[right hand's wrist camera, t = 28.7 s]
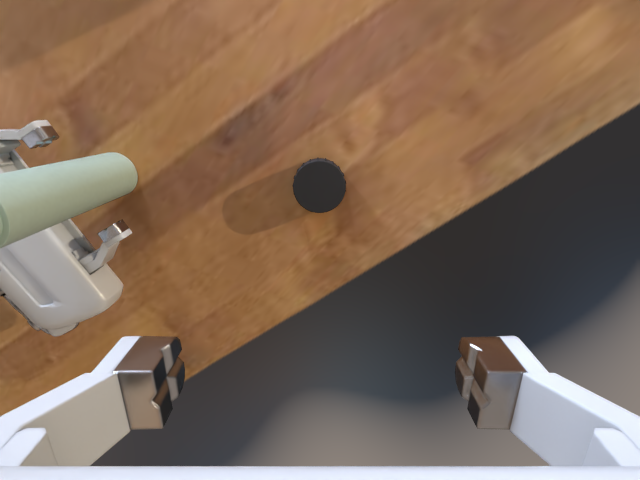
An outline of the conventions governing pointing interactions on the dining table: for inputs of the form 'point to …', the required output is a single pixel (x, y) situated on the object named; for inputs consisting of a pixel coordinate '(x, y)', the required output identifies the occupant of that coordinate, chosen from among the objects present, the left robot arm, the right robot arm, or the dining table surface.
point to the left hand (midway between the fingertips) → (88, 180)
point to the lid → (319, 185)
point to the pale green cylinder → (60, 192)
